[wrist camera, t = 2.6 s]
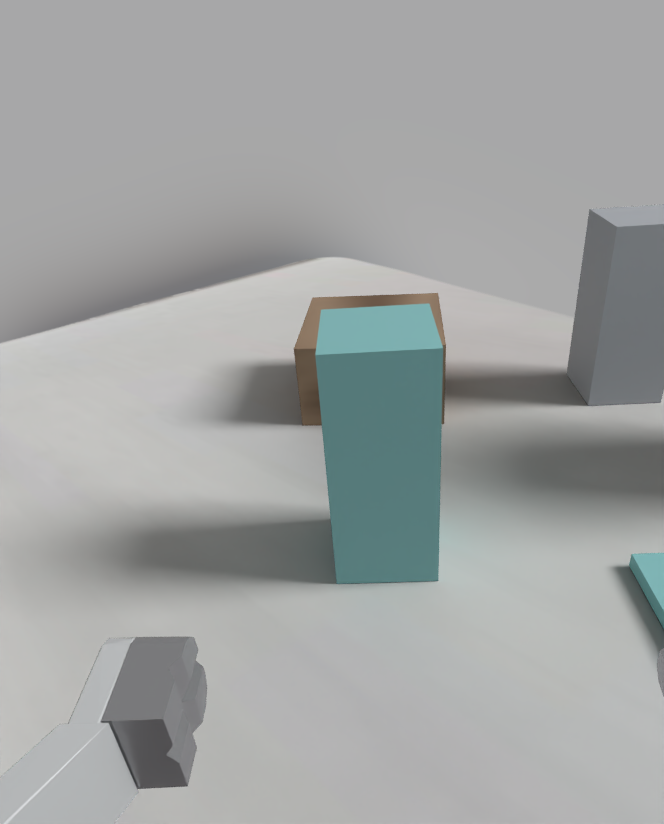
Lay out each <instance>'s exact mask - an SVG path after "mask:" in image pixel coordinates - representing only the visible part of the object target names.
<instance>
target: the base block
mask: <svg viewBox="0 0 664 824" xmlns="http://www.w3.org/2000/svg"><path fill="white" fill-rule="evenodd" d="M428 303H429V304H430V307H431V311H432V314H433V317H434V320H435V323H436V327H437V330H438V333H439V336H440V340H441V343H442V346H443V379H442V424H444V400H445V357H446V343H445V337H444V330H443V324H442V317H441V310H440V304H439V297H438V293H429V294H401V295H373V296H345V297H317V298H312V301H311V304H310V306H309V309H308V312H307V315H306V317H305V320H304V323H303V326H302V328H301V331H300V334H299V337H298V339H297V342H296V345H295V347H294V354H295V363H296V372H297V381H298V389H299V398H300V407H301V416H302V425H322V421H321V410H320V399H319V389H318V378H317V367H316V357H315V354H316V346H317V338H318V330H319V322H320V314H321V310H324V309H341V308H358V307H376V306H393V305H411V304H428Z"/></svg>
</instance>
